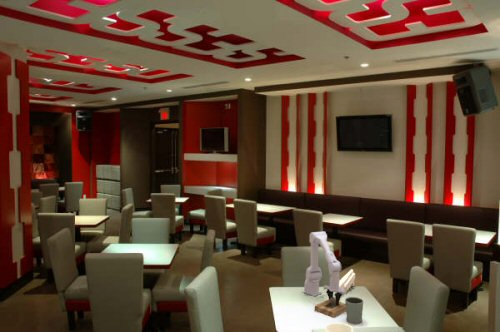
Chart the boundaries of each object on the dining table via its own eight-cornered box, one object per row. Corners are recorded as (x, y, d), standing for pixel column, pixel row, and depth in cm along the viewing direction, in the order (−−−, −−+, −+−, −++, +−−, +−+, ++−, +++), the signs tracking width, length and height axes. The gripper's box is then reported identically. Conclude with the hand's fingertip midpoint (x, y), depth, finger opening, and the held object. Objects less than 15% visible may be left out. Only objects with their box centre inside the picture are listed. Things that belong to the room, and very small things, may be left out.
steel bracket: (325, 310, 250) (325, 299, 250) (332, 306, 255) (332, 296, 255) (331, 312, 247) (331, 301, 247) (338, 308, 253) (338, 298, 252)
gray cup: (365, 324, 233) (365, 303, 232) (348, 324, 232) (348, 303, 231) (359, 316, 243) (359, 296, 242) (342, 316, 242) (342, 296, 241)
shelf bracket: (357, 286, 292) (355, 270, 289) (342, 304, 273) (340, 287, 270) (349, 284, 296) (348, 268, 293) (334, 302, 276) (333, 285, 274)
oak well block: (314, 310, 251) (314, 305, 250) (329, 303, 262) (329, 298, 262) (334, 317, 241) (334, 312, 241) (348, 309, 252) (348, 304, 252)
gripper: (320, 280, 254) (320, 301, 255) (341, 286, 244) (340, 308, 245) (327, 277, 259) (327, 298, 260) (347, 283, 249) (347, 305, 250)
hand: (334, 303), depth 253 cm, fingers closed on steel bracket, 4 cm apart
